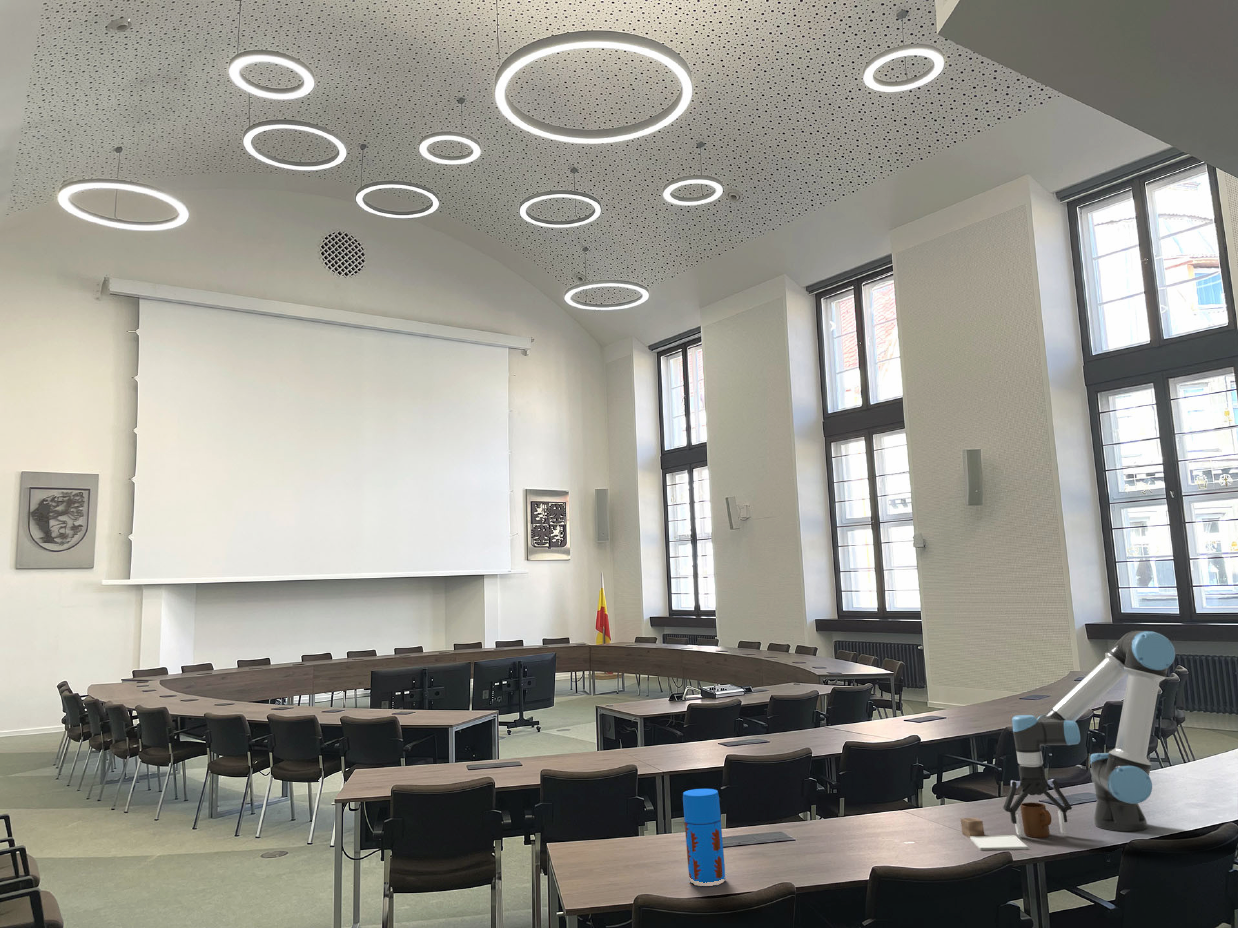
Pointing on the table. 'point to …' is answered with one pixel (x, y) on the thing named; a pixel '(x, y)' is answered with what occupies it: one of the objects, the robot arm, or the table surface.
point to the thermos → (703, 835)
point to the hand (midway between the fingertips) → (1041, 833)
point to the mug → (1035, 820)
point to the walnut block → (972, 827)
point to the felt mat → (998, 842)
